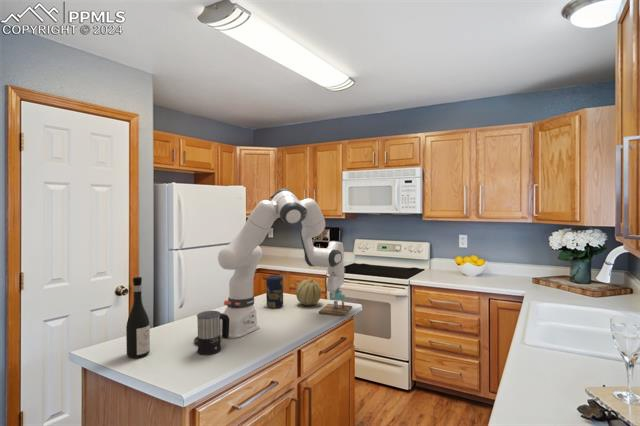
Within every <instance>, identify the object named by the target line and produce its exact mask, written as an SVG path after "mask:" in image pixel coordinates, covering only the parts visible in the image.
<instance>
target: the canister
mask: <svg viewBox="0 0 640 426" xmlns="http://www.w3.org/2000/svg"><path fill="white" fill-rule="evenodd" d="M265 281H266V283H265V284H266V285H265V287H266V292H265V293H266V307H268V308H273V309H276V308H281V307H282V306H283V305H284V277H283V276H281V275H278V274H272V275H269V276H267V277H266V280H265Z"/></svg>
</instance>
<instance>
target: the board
mask: <svg viewBox="0 0 640 426" xmlns="http://www.w3.org/2000/svg"><path fill="white" fill-rule="evenodd" d="M352 309H353V305H348V304H347V305H346V304H345V301H341V304H339V302H338V300H333V303H327V304H326V305H325V306H323V307H322V308H321V309H320V310H319V311H318V314H320V315H329V316H336V317H337V316H338V317H339V316H340V317H346V315H347V314H348V313H349V312H350V311H351V310H352Z"/></svg>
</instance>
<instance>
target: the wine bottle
mask: <svg viewBox="0 0 640 426" xmlns="http://www.w3.org/2000/svg"><path fill="white" fill-rule="evenodd" d="M142 280H143V278H142V277H141V276H137V277H133V278H132V282H133V304H132V307H131V310H130V313H129V316H128V318H127V322H126V327H125V328H126V329H125V331H126V333H125V334H126V336H125V337H126V339H125V340H126V355H127V357H128V358H131V359H140V358H143V357H145V356H147V355H149V353H150V351H151V341H150V339H151V337H150V336H151V335H150V334H151V333H150V331H151V330H150V329H151V328H150V327H151V326H150V319H149V316H148V314H147V312H146V310H145V307H144V305H143V299H142V298H143V297H142Z"/></svg>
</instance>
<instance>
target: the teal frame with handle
mask: <svg viewBox="0 0 640 426" xmlns="http://www.w3.org/2000/svg"><path fill="white" fill-rule="evenodd" d="M335 294H336V297H335V298H332V293H331V291H329V300H330V301H337V302H338V301H340V300H342V301H346V295H345V294H342V290H340V291H337V290H336V291H335Z"/></svg>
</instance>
